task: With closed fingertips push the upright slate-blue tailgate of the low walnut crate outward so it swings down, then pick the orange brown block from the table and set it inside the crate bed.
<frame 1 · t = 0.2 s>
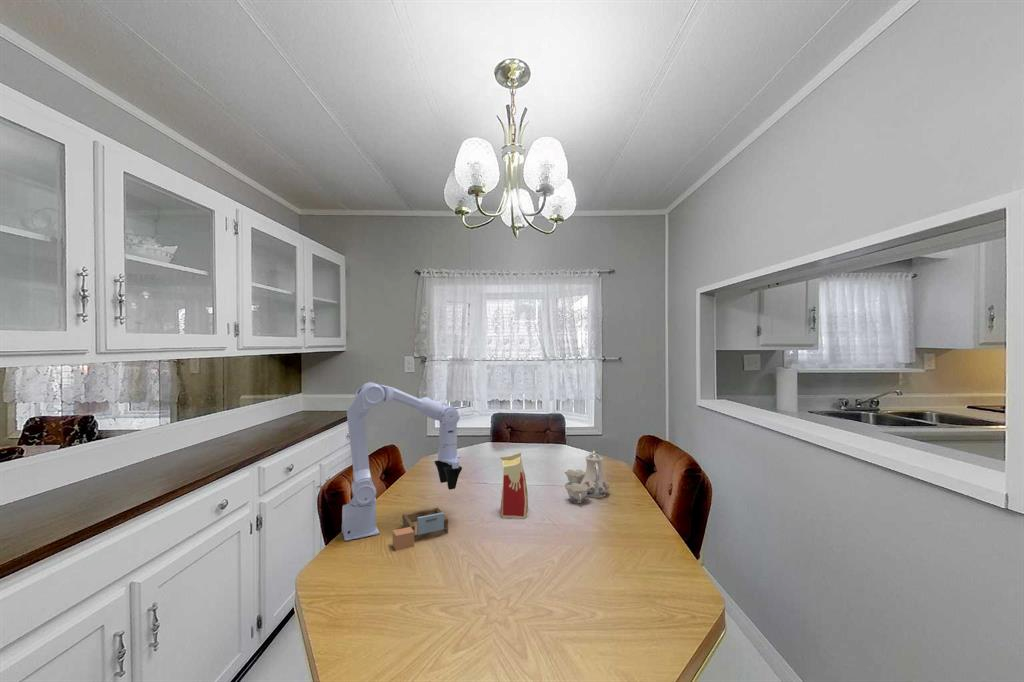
hand: (447, 485, 131), 10 cm above the table, fingers open, 7 cm apart
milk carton: (513, 513, 134), on the table
orange brown block: (403, 545, 112), on the table
crate: (425, 530, 121), on the table
tailgate: (431, 523, 116), point 4 cm above the table, hinge at 0.0°
chinaware: (586, 494, 152), on the table
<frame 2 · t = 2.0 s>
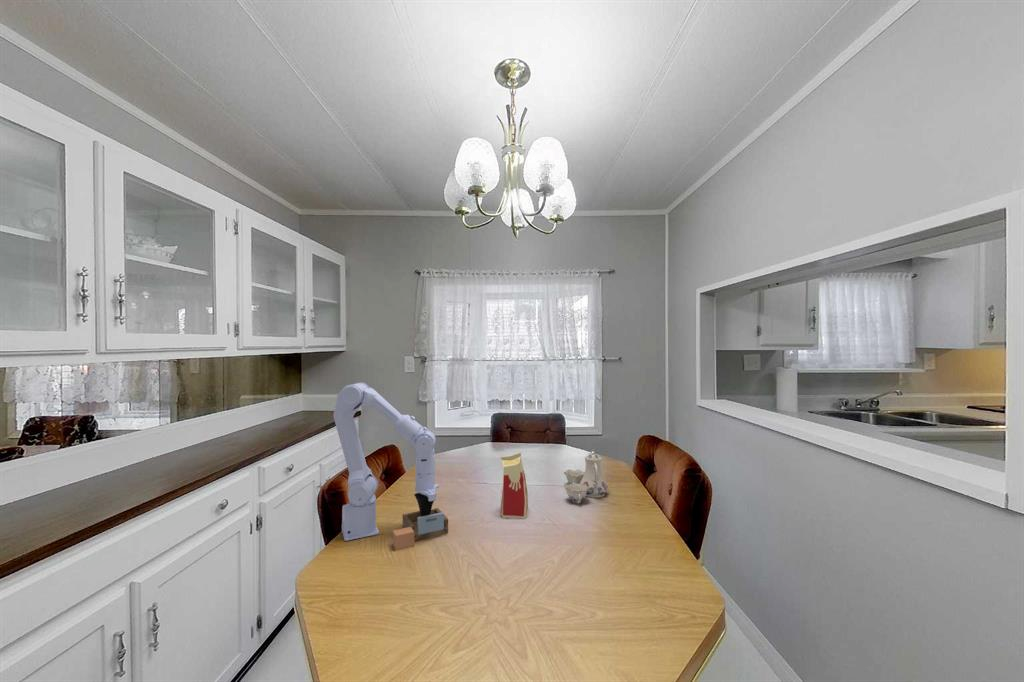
hand: (425, 517, 121), 4 cm above the table, fingers closed
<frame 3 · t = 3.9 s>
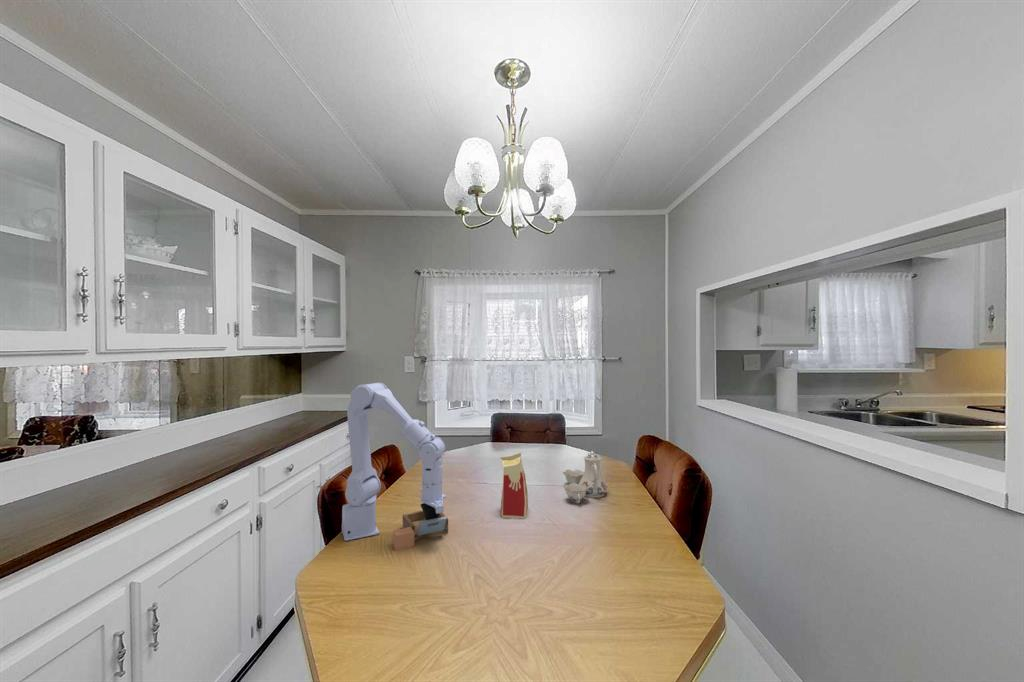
hand: (431, 529, 116), 3 cm above the table, fingers closed, pressing on tailgate
tailgate: (432, 526, 115), point 4 cm above the table, hinge at 28.1°, touching gripper
everything else where it was.
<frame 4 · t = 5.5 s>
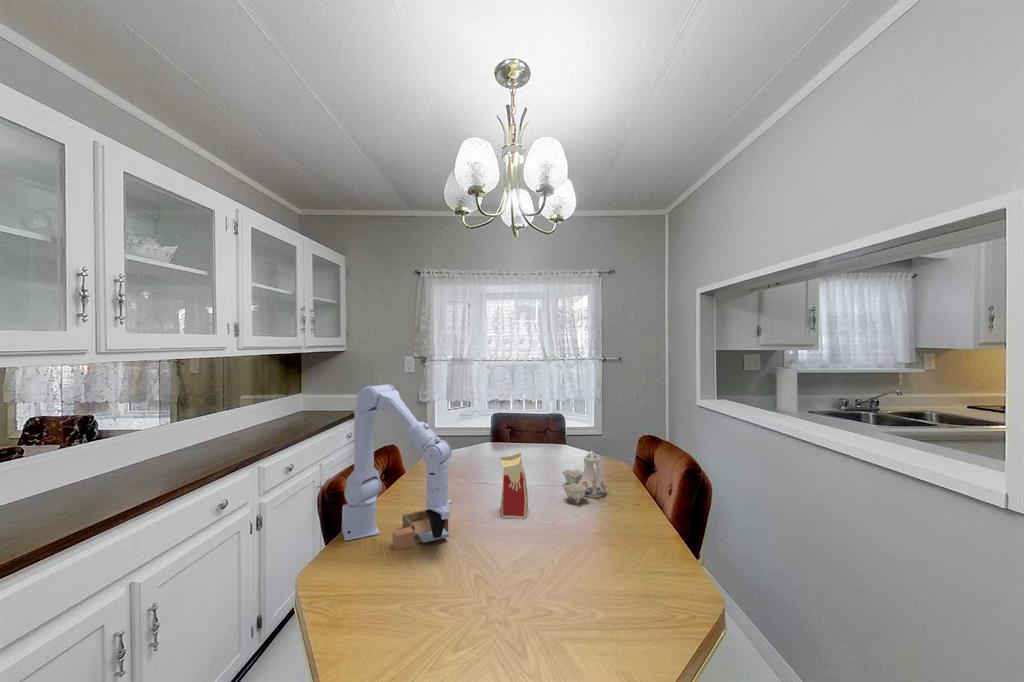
hand: (437, 536, 111), 3 cm above the table, fingers closed
tailgate: (433, 535, 114), point 2 cm above the table, hinge at 86.8°
everything else where it was.
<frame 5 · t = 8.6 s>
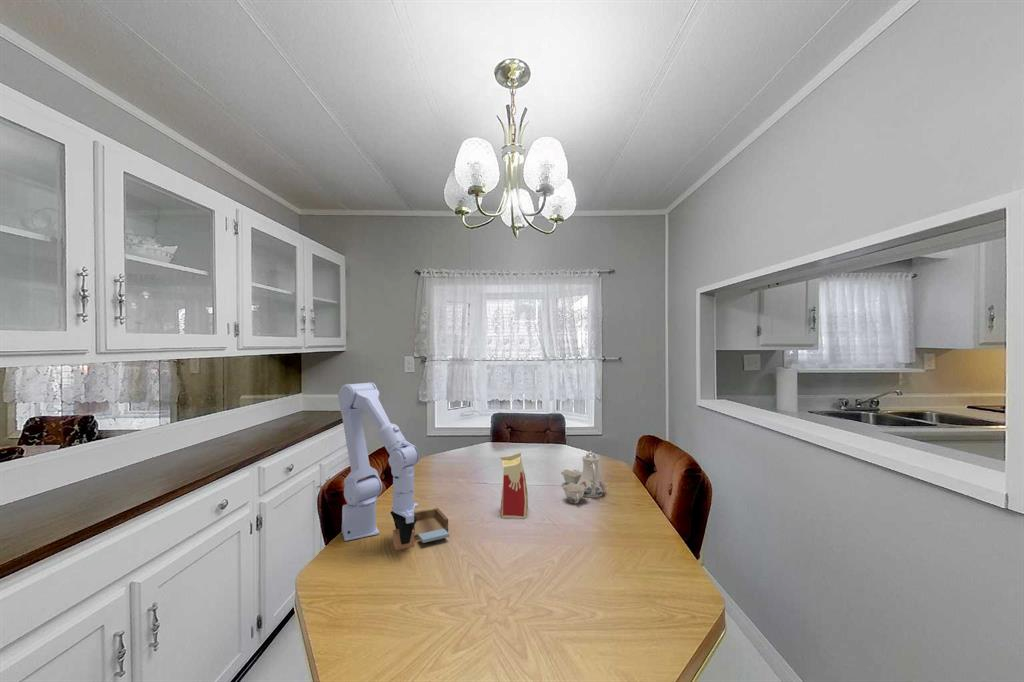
hand: (403, 540, 112), 1 cm above the table, fingers closed on orange brown block, 4 cm apart
orange brown block: (403, 545, 112), on the table, touching gripper
tailgate: (433, 536, 114), point 2 cm above the table, hinge at 87.1°
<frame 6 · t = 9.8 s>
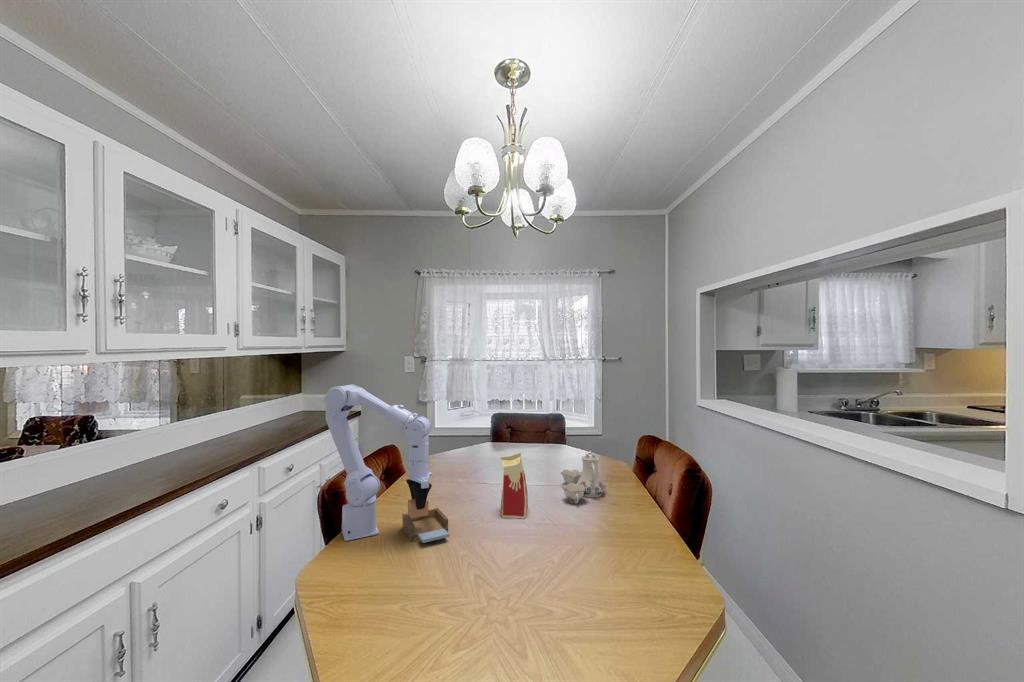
hand: (418, 506, 118), 8 cm above the table, fingers closed on orange brown block, 4 cm apart
orange brown block: (418, 514, 118), point 6 cm above the table, touching gripper
when the fingers open (5 cm above the table, at t = 11.0 s): orange brown block stays where it is, resting on crate.
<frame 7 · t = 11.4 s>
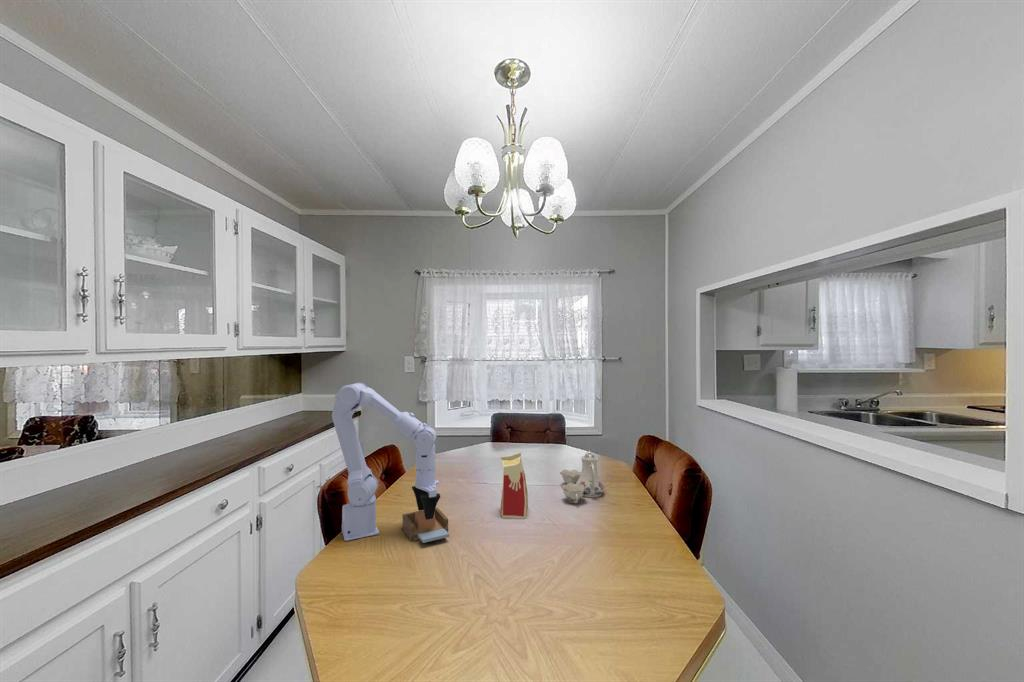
hand: (425, 514, 121), 5 cm above the table, fingers open, 7 cm apart
orange brown block: (424, 525, 121), point 1 cm above the table, touching crate
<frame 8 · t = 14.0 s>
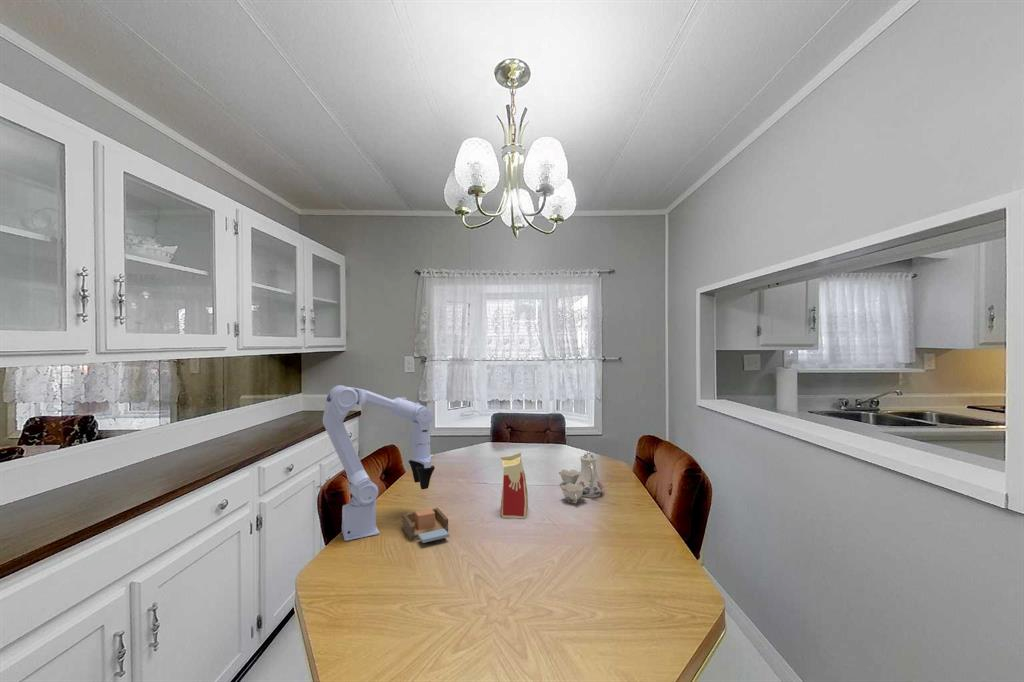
hand: (421, 485, 131), 10 cm above the table, fingers open, 7 cm apart
at the end: tailgate at +87° (first picture: +0°); orange brown block inside the target area on the crate (0.2 cm from its centre), point 1.5 cm above the crate's base; the gripper is holding nothing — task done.
